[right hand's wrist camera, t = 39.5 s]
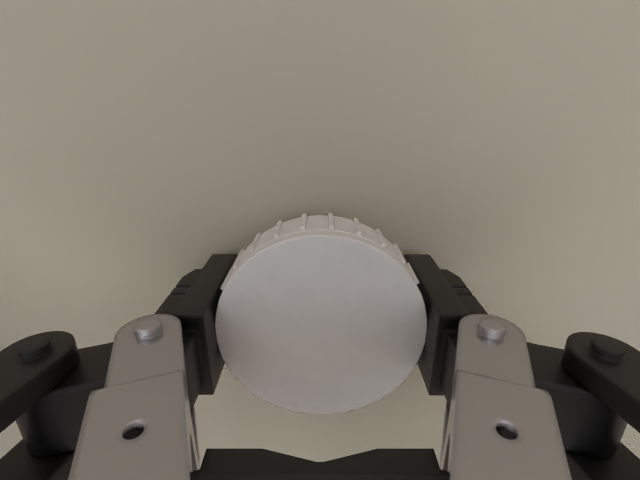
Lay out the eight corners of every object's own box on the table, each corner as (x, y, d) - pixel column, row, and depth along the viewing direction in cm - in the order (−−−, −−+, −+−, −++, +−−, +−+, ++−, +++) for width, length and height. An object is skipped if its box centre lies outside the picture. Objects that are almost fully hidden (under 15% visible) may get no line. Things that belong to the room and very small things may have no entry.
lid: (226, 202, 9) (208, 221, 8) (432, 220, 10) (452, 242, 8) (226, 370, 11) (212, 409, 10) (398, 382, 12) (409, 423, 10)
